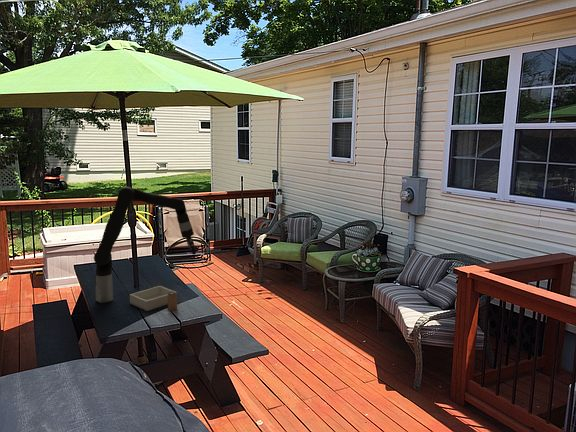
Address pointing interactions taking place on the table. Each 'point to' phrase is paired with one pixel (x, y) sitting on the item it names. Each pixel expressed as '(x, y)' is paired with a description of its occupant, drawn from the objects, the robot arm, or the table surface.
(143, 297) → the bin
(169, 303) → the jar
